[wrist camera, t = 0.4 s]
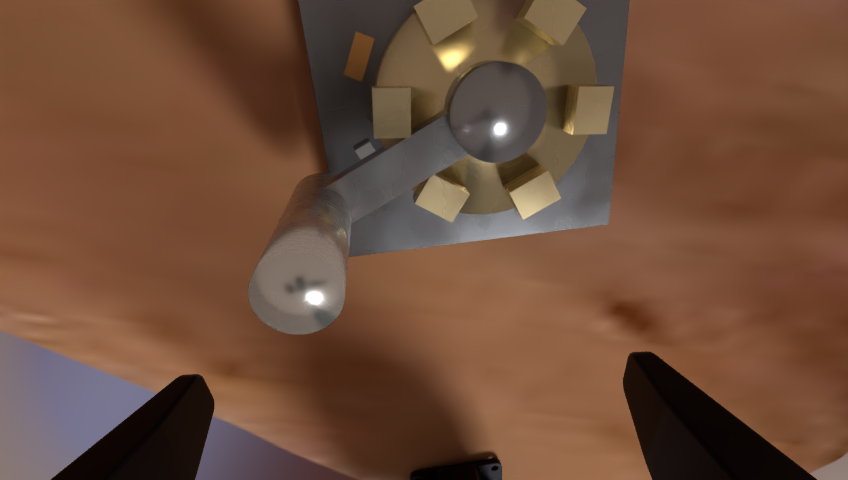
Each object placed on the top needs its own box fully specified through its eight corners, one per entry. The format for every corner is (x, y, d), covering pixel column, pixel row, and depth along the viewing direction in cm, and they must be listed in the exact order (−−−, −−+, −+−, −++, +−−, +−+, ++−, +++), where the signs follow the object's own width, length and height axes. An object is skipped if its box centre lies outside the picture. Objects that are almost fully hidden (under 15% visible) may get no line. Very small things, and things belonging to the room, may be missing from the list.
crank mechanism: (521, -63, 18) (668, -162, 9) (599, 137, 21) (755, 201, 13) (238, 119, 19) (134, 182, 11) (356, 277, 23) (350, 418, 14)
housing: (595, 214, 25) (610, 225, 23) (345, 245, 24) (343, 259, 22) (619, -88, 19) (641, -100, 18) (291, -64, 18) (284, -74, 17)
